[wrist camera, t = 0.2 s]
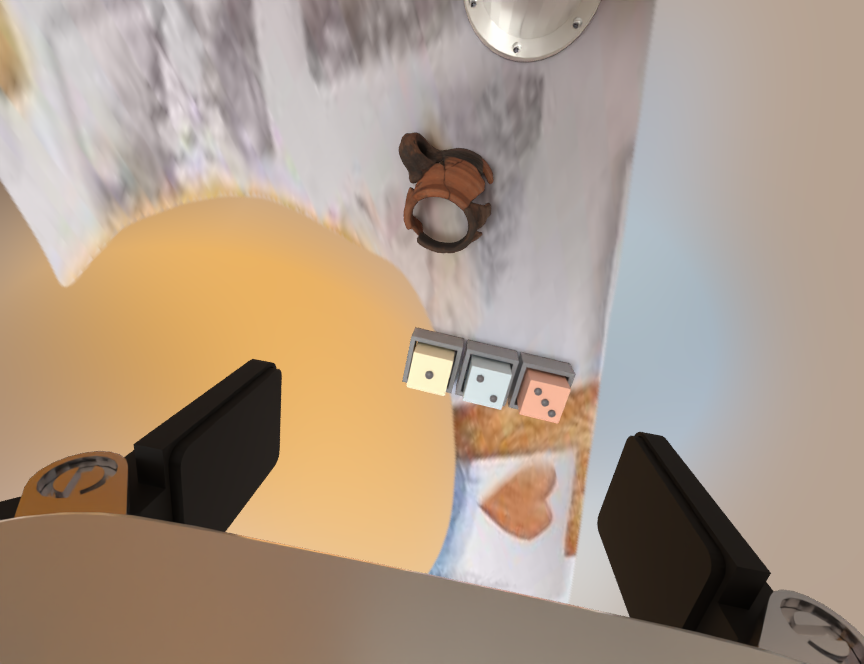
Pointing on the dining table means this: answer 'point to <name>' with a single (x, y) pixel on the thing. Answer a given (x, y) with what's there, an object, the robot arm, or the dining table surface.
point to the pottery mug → (444, 186)
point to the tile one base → (436, 340)
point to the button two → (486, 381)
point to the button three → (542, 395)
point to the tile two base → (487, 352)
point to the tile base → (538, 364)
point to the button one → (430, 368)
